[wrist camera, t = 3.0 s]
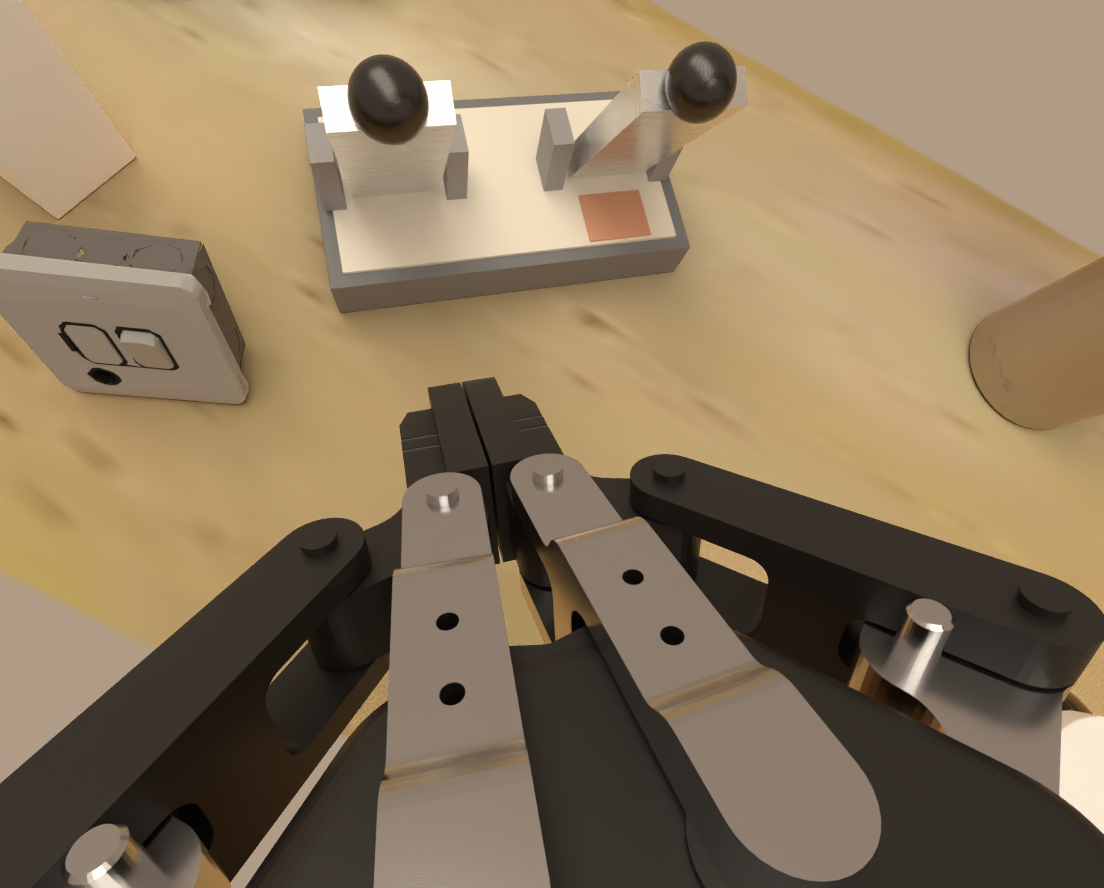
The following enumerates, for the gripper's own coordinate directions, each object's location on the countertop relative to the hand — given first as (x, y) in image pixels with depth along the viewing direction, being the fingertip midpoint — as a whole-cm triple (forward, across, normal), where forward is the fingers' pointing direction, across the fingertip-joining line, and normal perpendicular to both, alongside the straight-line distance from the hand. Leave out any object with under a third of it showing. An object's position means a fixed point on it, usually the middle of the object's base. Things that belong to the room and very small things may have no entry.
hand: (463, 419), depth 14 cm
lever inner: (+27, -13, -1) cm, 30 cm away
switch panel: (+30, -7, +1) cm, 30 cm away
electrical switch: (+25, +14, +6) cm, 29 cm away
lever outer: (+27, 0, -1) cm, 27 cm away
